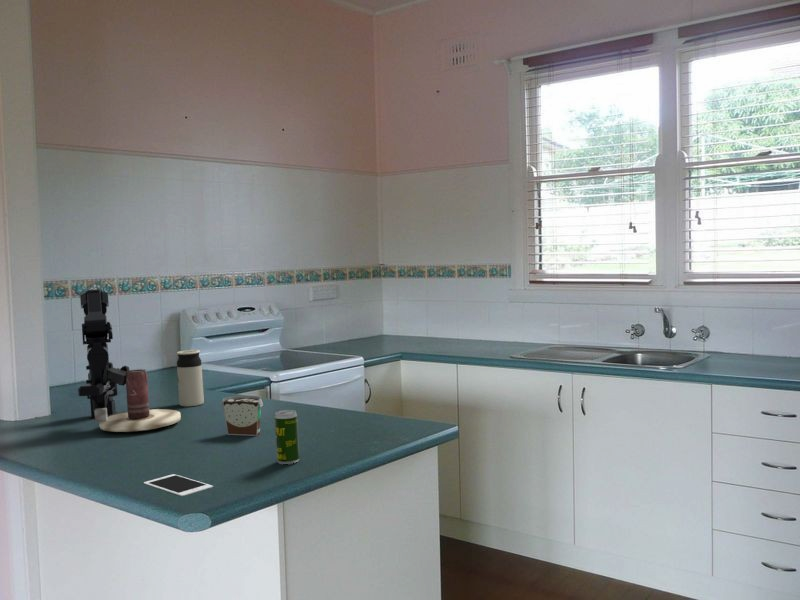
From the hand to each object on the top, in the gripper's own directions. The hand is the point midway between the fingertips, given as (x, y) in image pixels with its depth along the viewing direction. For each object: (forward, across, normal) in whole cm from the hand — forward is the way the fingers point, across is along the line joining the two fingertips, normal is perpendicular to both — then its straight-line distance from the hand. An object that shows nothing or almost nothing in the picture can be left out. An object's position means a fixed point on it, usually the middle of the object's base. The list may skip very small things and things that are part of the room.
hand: (103, 412), depth 236 cm
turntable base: (+5, 0, -11) cm, 12 cm away
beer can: (+2, -46, -62) cm, 78 cm away
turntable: (+3, 0, -11) cm, 11 cm away
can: (+2, 0, -11) cm, 11 cm away
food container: (+4, -14, -46) cm, 48 cm away
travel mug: (+6, +30, -18) cm, 36 cm away
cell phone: (+2, -62, -40) cm, 74 cm away
